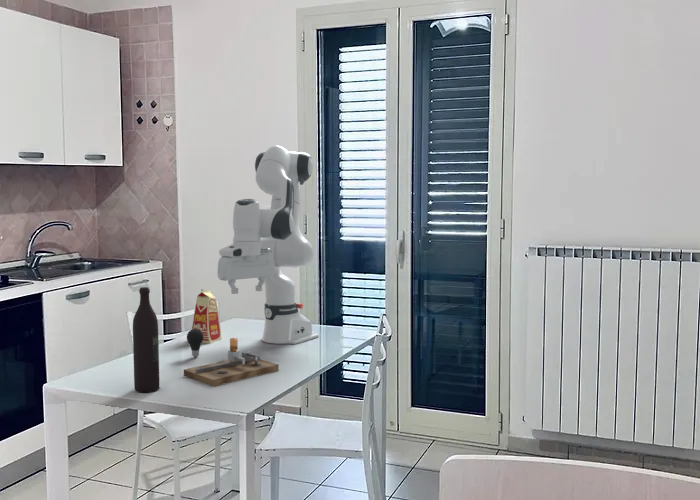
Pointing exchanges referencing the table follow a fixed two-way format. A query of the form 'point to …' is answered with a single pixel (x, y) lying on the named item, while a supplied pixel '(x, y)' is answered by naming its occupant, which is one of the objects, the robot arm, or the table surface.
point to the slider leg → (235, 352)
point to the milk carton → (207, 317)
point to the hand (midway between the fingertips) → (247, 292)
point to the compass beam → (247, 355)
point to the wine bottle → (145, 346)
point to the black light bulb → (195, 341)
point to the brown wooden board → (231, 372)
